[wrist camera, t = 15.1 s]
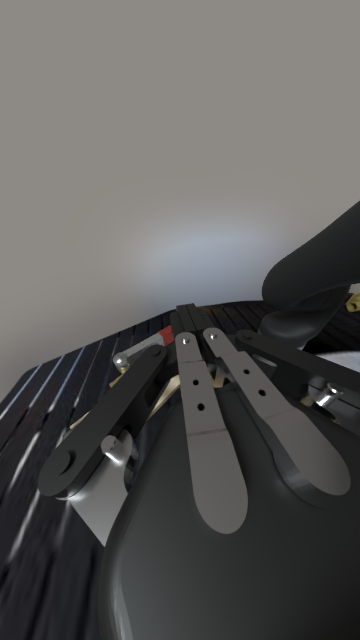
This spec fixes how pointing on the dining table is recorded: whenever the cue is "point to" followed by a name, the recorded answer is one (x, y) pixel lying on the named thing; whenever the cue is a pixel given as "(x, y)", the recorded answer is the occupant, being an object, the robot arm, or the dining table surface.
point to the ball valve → (354, 303)
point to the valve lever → (141, 349)
